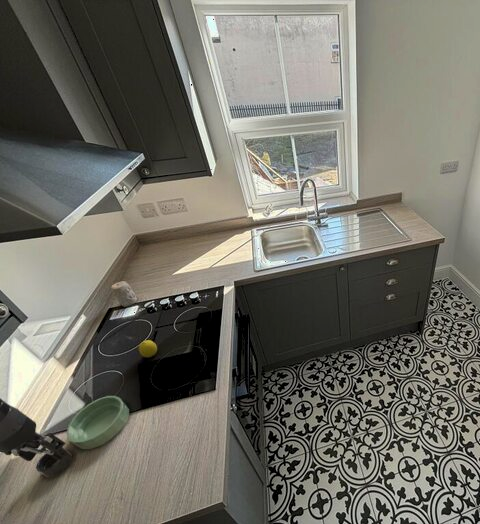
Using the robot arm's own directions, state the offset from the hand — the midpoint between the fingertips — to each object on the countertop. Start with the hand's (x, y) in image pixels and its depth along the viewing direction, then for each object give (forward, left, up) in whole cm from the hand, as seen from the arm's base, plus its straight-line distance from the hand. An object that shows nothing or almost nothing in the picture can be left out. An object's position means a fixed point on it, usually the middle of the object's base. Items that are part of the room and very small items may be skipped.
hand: (47, 456), depth 80 cm
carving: (+15, +72, -6) cm, 74 cm away
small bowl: (0, 0, -6) cm, 6 cm away
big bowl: (+10, +7, -6) cm, 14 cm away
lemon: (+24, +30, -6) cm, 39 cm away
